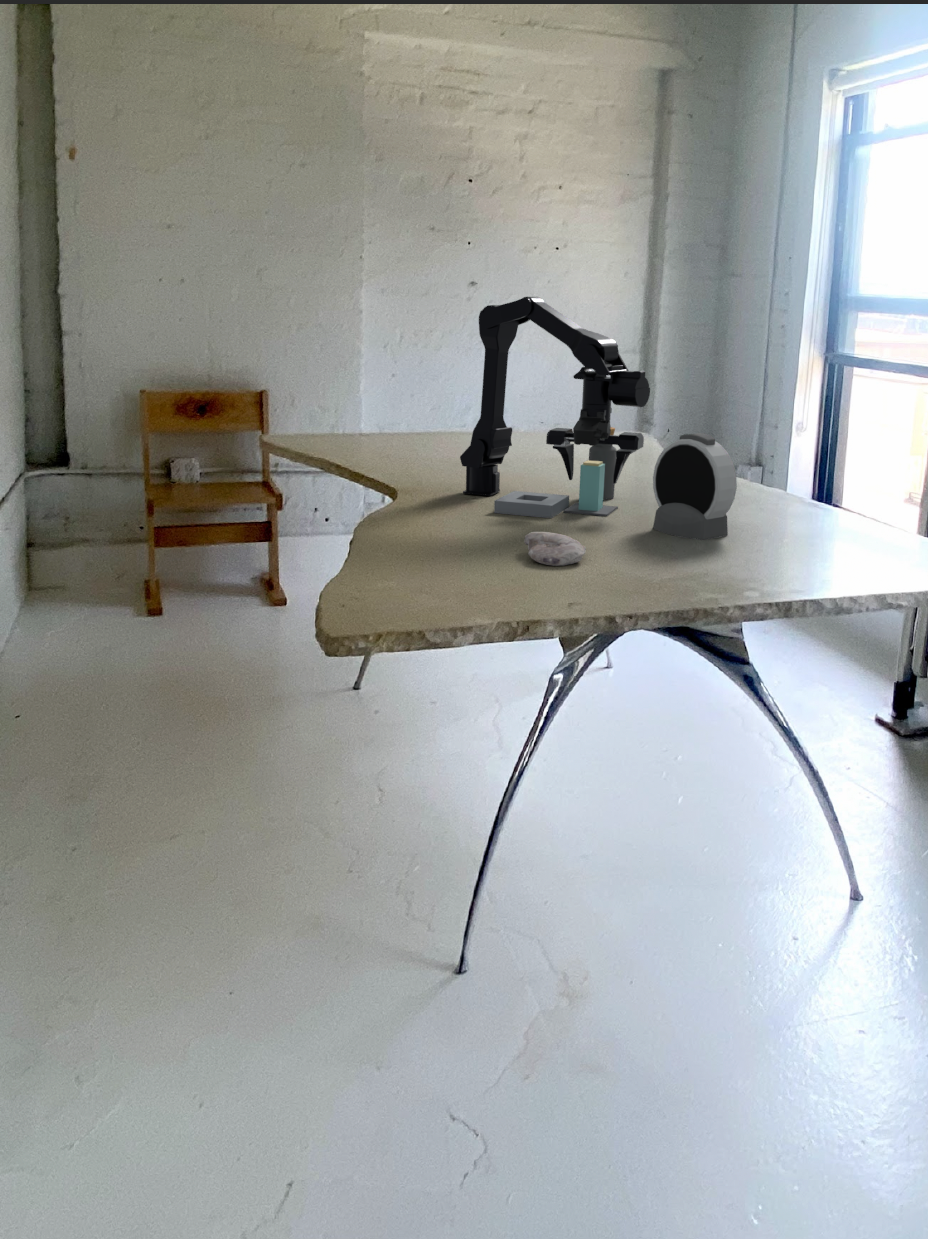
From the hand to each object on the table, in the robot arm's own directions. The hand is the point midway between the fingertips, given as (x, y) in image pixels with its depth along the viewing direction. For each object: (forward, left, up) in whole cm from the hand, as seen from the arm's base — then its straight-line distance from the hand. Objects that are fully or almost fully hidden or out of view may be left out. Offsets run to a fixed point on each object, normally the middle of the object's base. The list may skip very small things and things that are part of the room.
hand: (592, 481), depth 215 cm
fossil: (+5, -42, -6) cm, 43 cm away
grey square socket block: (-11, -5, -6) cm, 14 cm away
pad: (0, 0, -6) cm, 6 cm away
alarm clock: (+22, -11, -6) cm, 25 cm away
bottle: (-2, +15, -6) cm, 16 cm away
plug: (0, 0, -6) cm, 6 cm away
